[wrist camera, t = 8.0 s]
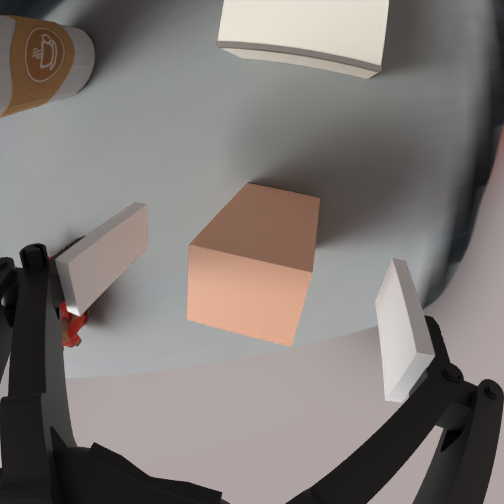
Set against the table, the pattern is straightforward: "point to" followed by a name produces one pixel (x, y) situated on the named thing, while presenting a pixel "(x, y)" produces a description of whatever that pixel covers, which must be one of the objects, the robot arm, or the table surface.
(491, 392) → the robot arm
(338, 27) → the cream white block
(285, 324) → the salmon orange rectangular block
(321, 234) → the table surface
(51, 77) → the coffee cup
